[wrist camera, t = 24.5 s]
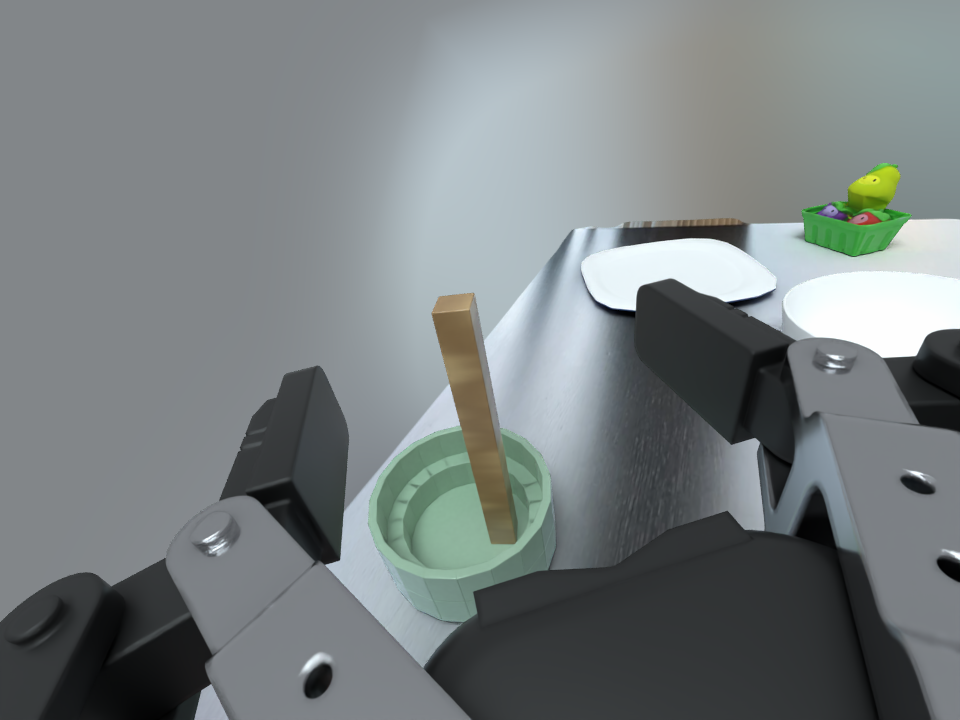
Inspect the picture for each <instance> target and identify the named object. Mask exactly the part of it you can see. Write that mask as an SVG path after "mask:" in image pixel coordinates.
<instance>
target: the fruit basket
mask: <svg viewBox="0 0 960 720" xmlns="http://www.w3.org/2000/svg"><path fill="white" fill-rule="evenodd" d="M897 167H898V165H895V164H894V165H891V164H888V163H882V164H879V165H877V166H876V167H874V168H873V169H872V170H871V171H870V172H869V173H867V174H866V176H864V177H862V178H860V179H858V180H857V181H855V182H854V183H852V184H851V185H850V186H849V188H848V202H841V201H839V202H831V203H829V204H825V205H820V206H816V207H811V208H807V209H803V210H802V216H803V218H804V231H805V241H807V242H810V243H815V244H817V245H820V246H823V247H827V248H830V249H832V250H835V251H839V252H844V253H845V254H848V255H851V256H858V255H859V254H867V253H871V252H875V251H877V250H884V249H885V248H886V247H887V246H888V244H889V243H890V242H891V240H892V239H893V238H894V237H895V235H896V234H897V233H898V231H899V230H900V229H901V227H902V226H903V224H904V223H906V222H907V221H908V220H909V218H910V217H911V216H912V215H910V214H907V213H902V212H898V211H894V210H889V209H885V208H886V206H887V205H888V204H889V203H890V201H891V200H892V199H893V197H894V195H895V191H896V186H897V183H898V182H899V180H900V173H899V171H898V170H897V169H896V168H897Z"/></svg>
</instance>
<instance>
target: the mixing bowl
mask: <svg viewBox="0 0 960 720" xmlns="http://www.w3.org/2000/svg"><path fill="white" fill-rule="evenodd" d="M500 431H501V436H502V441H503V446H504V452H505V457H506V462H507V468H508V473H509V478H510V483H511V489H512V494H513V499H514V505H515V510H516V515H517V520H518V528H517V542H516V543H515V544H491V541H490V538H489V534H488V530H487V526H486V522H485V518H484V514H483V511H482V507H481V503H480V499H479V495H478V491H477V487H476V483H475V480H474V476H473V472H472V468H471V464H470V460H469V456H468V453H467V449H466V445H465V441H464V437H463V433H462V429H461V426H456V427H452V428H448V429H444V430H440V431H437V432H434V433H432V434H430V435H428V436H426V437H424V438H422V439H420V440H418V441H416V442H414V443H412V444H411V445H410V446H409V447H407V448H406V449H405V450H404V451H402V452H401V453H400V454H398V455H397V456H396V457H395V458H394V459H393V460H392V461H391V463H390V464H389V465H388V466H387V468H386V469H385V470H384V471H383V473H382V474H381V475H380V476H379V478H378V481H377V483H376V486H375V488H374V490H373V493H372V495H371V498H370V500H369V517H368V526H369V528H370V531H371V534H372V537H373V540H374V542H375V545H376V548H377V550H378V551H379V553H380V555H381V557H382V559H383V561H384V563H385V565H386V567H387V569H388V571H389V573H390V574H391V576H392V578H393V580H394V582H395V584H396V586H397V588H398V590H399V591H400V592H401V593H402V594H403V595H404V596H405V597H406V599H407V600H408V601H409V602H410V603H411V604H412V605H413V606H414V607H415V608H416V609H417V610H420V611H422V612H424V613H426V614H428V615H430V616H433V617H435V618H437V619H439V620H443V621H453V622H465V621H466V620H468V619H469V618H471V617H472V616H474V615H475V614H477V609H476V604H475V599H474V594H473V591H477V590H480V589H483V588H486V587H489V586H492V585H495V584H499V583H502V582H505V581H508V580H511V579H514V578H517V577H521V576H524V575H527V574H530V573H533V572H536V571H545V570H548V569H549V566H550V563H551V560H552V557H553V554H554V551H555V548H556V521H555V512H554V503H553V494H552V484H551V476H550V473H549V471H548V469H547V466H546V464H545V462H544V459H543V457H542V455H541V454H540V453H539V452H538V451H537V450H536V449H535V448H534V447H533V446H532V445H531V444H530V443H529V442H528V441H527V440H526V439H525V438H523V437H521V436H519V435H517V434H515V433H513V432H511V431H509V430H507V429H503V428H500Z"/></svg>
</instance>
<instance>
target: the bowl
mask: <svg viewBox="0 0 960 720" xmlns="http://www.w3.org/2000/svg"><path fill="white" fill-rule="evenodd" d="M944 329H960V279H956V278H950V277H943V276H936V275H929V274H919V273H908V272H888V271H866V272H849V273H838V274H832V275H827V276H821V277H817V278H814V279H811V280H807V281H805V282H803V283H801V284H798V285H796V286H795V287H793V288H792V289H791V290H790V291H788V292H787V294H786V296H785V297H784V299H783V301H782V333H783V334H785V335H787V336H789V337H791V338H793V339H794V340H796V341H798V340H801V339H806V338H816V337H824V338H835V339H841V340H846V341H850V342H853V343H857V344H860V345H862V346H865V347H867V348H869V349H871V350H873V351H874V352H876V353H877V354H879V355H880V356H881V357H882V358H887V357H906V356H916V355H917V353H918V351H919V349H920V347H921V345H922V343H923V341H924V339H925V337H926V336H927V335H928V334H930V333H932V332H934V331H938V330H944Z"/></svg>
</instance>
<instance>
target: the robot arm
mask: <svg viewBox="0 0 960 720" xmlns="http://www.w3.org/2000/svg"><path fill="white" fill-rule="evenodd" d="M634 344H635V349H636V352H637V354H638V356H639V358H640V359H641V361H642V362H643V363H644V364H645V365H646V366H647V367H648V368H649V369H651V370H652V371H653V372H654V373H655V374H656V375H657V376H658V377H659V378H660V379H661V380H662V381H663V382H665V383H666V384H667V385H668V386H669V387H670V388H671V389H672V390H673V391H674V392H675V393H676V394H677V395H679V396H680V397H681V398H682V399H683V400H684V401H685V402H686V403H687V404H688V405H689V406H690V407H691V408H692V409H694V410H695V411H696V412H697V413H698V414H699V415H700V416H701V417H702V418H703V419H704V420H705V421H706V422H708V423H709V424H710V425H711V426H712V427H713V428H714V429H715V430H716V431H717V432H718V433H719V434H720V435H722V436H723V437H724V438H725V439H726V440H727V441H728V442H729V443H730V444H731V445H732V444H736V443H739V442H742V441H746V440H749V439H752V438H756V439H757V440H758V441H760V445H759V448H758V451H757V459H758V468H759V477H760V486H761V495H762V504H763V513H764V523H765V531H756V530H744V529H743V528H742V527H741V526H740V524H739V523H738V522H737V521H736V520H735V519H734V518H733V517H732V515H731V514H730V513H729V512H728V511H725V512H722V513H719V514H716V515H713V516H710V517H707V518H703V519H700V520H697V521H694V522H691V523H688V524H685V525H681V526H678V527H675V528H672V529H669V530H667V531H665V532H664V533H663V534H661V535H660V536H658V537H657V538H655V539H654V540H652V541H651V542H649V543H648V544H647V545H645V546H644V547H642V548H641V549H639V550H638V551H636V552H635V553H633V554H632V555H631V556H629V557H628V558H626V559H625V560H623V561H622V562H620V563H619V564H617V565H615V566H612V567H606V568H586V569H565V570H545V571H536V572H533V573H530V574H527V575H524V576H521V577H517V578H514V579H511V580H508V581H505V582H502V583H499V584H495V585H492V586H489V587H486V588H483V589H480V590H477V591H473V594H474V599H475V604H476V609H477V614H475V615H474V616H472V617H471V618H469V619H468V620H466V621H465V622H464V623H463V624H461V625H460V626H459V627H458V628H457V629H456V630H455V631H453V632H452V633H451V634H450V635H449V636H448V637H447V638H446V639H445V641H444V642H443V643H442V644H441V645H440V646H439V647H438V648H437V650H436V651H435V652H434V654H433V655H432V656H431V658H430V659H429V660H428V662H427V663H426V664H425V666H424V668H422V667H421V666H420V665H419V664H418V663H417V662H416V660H415V659H414V658H413V657H412V656H411V655H410V654H409V653H408V652H407V651H406V650H405V649H404V648H403V647H402V646H401V645H400V644H399V643H398V642H397V640H396V639H395V638H394V637H393V636H392V635H391V634H390V633H389V632H388V631H387V630H386V629H385V628H384V627H383V626H382V625H381V624H380V623H379V622H378V620H377V619H376V618H375V617H374V616H373V615H372V614H371V613H370V612H369V611H368V610H367V609H366V608H365V607H364V606H363V605H362V604H361V603H360V602H359V601H358V599H357V598H356V597H355V596H354V595H353V594H352V593H351V592H350V591H349V590H348V589H347V588H346V587H345V586H344V585H343V584H342V583H341V582H340V581H339V579H338V578H337V577H336V576H335V575H334V574H333V573H332V572H331V571H330V570H329V569H328V568H327V567H326V566H325V565H326V564H329V563H333V562H336V561H339V560H340V554H341V540H342V527H343V513H344V499H345V486H346V472H347V459H348V445H349V434H348V428H347V424H346V420H345V418H344V415H343V413H342V410H341V408H340V406H339V404H338V401H337V399H336V397H335V395H334V392H333V390H332V388H331V386H330V384H329V381H328V379H327V377H326V375H325V373H324V371H323V369H322V368H321V367H320V366H314V367H310V368H307V369H302V370H298V371H294V372H290V373H287V374H285V375H284V377H283V380H282V383H281V387H280V389H279V393H278V395H277V398H274V399H270V400H267V401H266V402H265V403H264V404H263V405H262V406H261V408H260V409H259V410H258V411H257V412H256V413H255V414H254V415H253V416H252V419H251V421H250V424H249V426H248V429H247V432H246V437H244V439H243V442H242V444H241V447H240V449H241V451H239V452H238V454H237V457H236V459H235V462H234V464H233V467H232V470H231V472H230V474H229V477H228V479H227V482H226V484H225V487H224V489H223V492H222V495H221V497H220V500H219V502H216V503H214V504H212V505H211V506H209V507H207V508H205V509H204V510H203V511H201V512H199V513H198V514H197V515H195V516H194V517H193V518H192V519H191V520H190V521H188V522H187V523H186V524H185V525H184V526H183V527H182V528H181V529H180V531H179V532H178V533H177V535H176V536H175V537H174V539H173V540H172V542H171V544H170V546H169V548H168V551H167V554H166V558H164V559H163V560H161V561H159V562H157V563H155V564H153V565H151V566H149V567H148V568H146V569H144V570H142V571H140V572H138V573H136V574H134V575H132V576H130V577H129V578H127V579H125V580H123V581H121V582H119V583H117V584H115V585H113V586H112V587H111V586H110V585H109V584H107V583H106V582H105V581H104V580H103V579H101V578H100V577H99V576H97V575H96V574H93V573H78V574H74V575H70V576H68V577H65V578H62V579H60V580H58V581H56V582H54V583H51V584H50V585H48V586H46V587H45V588H43V589H41V590H39V591H38V592H36V593H35V594H34V595H32V596H31V597H29V598H28V599H26V600H25V601H24V602H23V603H21V604H20V605H19V606H17V608H15V609H14V610H13V611H12V612H11V613H9V614H8V615H7V616H6V617H5V618H4V619H3V620H2V621H1V622H0V720H194V718H195V714H196V710H197V706H198V702H199V698H200V694H201V690H203V689H204V688H206V687H207V686H209V685H210V684H212V686H213V688H214V690H215V692H216V694H217V696H218V698H219V700H220V702H221V704H222V706H223V708H224V710H225V712H226V714H227V716H228V718H229V720H960V329H944V330H938V331H934V332H932V333H930V334H928V335H927V336H926V337H925V339H924V341H923V343H922V345H921V347H920V349H919V351H918V353H917V355H916V356H906V357H887V358H882V357H881V356H880V355H879V354H877V353H876V352H874V351H873V350H871V349H869V348H867V347H865V346H862V345H860V344H857V343H853V342H850V341H846V340H841V339H835V338H824V337H816V338H806V339H801V340H798V341H796V340H794V339H793V338H791V337H789V336H787V335H785V334H783V333H782V332H780V331H778V330H776V329H774V328H772V327H770V326H769V325H767V324H765V323H763V322H761V321H759V320H758V319H756V318H754V317H752V316H750V317H748V314H746V313H745V312H743V311H741V310H739V309H734V306H732V305H730V304H728V303H726V302H724V301H722V300H721V299H719V298H717V297H713V296H709V295H706V294H702V293H698V292H697V291H695V290H693V289H691V288H689V287H688V286H686V285H684V284H682V283H681V282H679V281H677V280H675V279H672V278H669V279H665V280H661V281H657V282H653V283H649V284H645V285H642V286H640V287H639V289H638V291H637V296H636V313H635V332H634Z"/></svg>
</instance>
